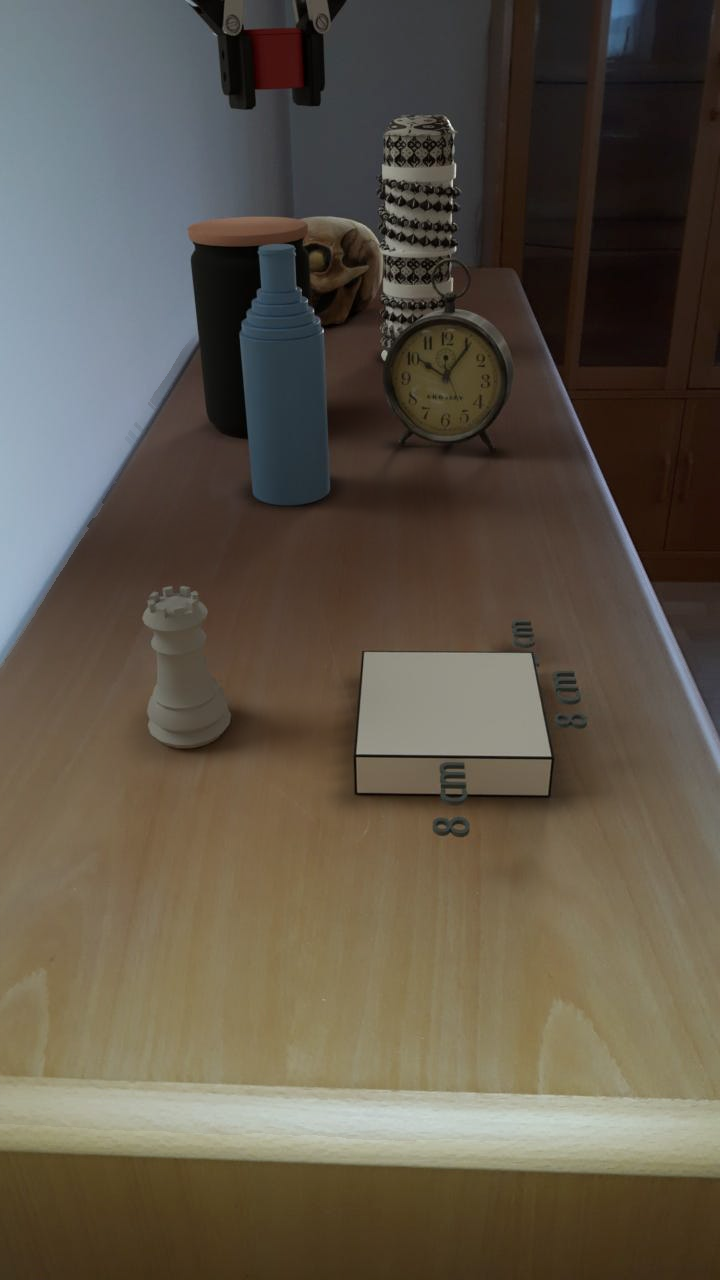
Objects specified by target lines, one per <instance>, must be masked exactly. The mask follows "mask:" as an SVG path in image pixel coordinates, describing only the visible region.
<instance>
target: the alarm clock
mask: <svg viewBox="0 0 720 1280" xmlns="http://www.w3.org/2000/svg"><path fill="white" fill-rule="evenodd" d="M446 262H452V263H455V264H457V265H459V266H461V267H462V269H463V270H464V271H465V273H466V276H467V277H466V279H467V281H466V286H465V287H464V288H463V290H462V291H461V292H460V293H458V294H455V293H454V292H453V291H452V292H448V293H446V294H442V293H441V292H440V291H439V290H438V289H437V287H436V285H435V282H434V276H435V272H436V271H437V269H438V267H439V266H441V265H442V264H444V263H446ZM431 282H432V286H433V288H434V289H435V291H436V292H437V293H438V294H439V295H440V296H441V297H443V298H444V299H445V301H446V302H445V309H444V310H439V311H435V312H432V313H429V314H427V315H425V316H423V317H422V318H420V319H419V320H417V321H416V322H414V323H412V324H411V325H409V326H408V327H407V328H406V329H404V330H403V331H402V332H401V333H400V334H399V335H398V337H397V338H396V339H395V340H394V342H393V344H392V345H391V347H390V349H389V351H388V354H387V356H386V359H385V361H384V364H383V370H382V384H383V385H382V386H383V392H384V395H385V398H386V402H387V404H388V406H389V408H390V410H391V413H392V414H393V415H394V417H395V418H396V420H398V422H399V423H400V424H401V425H402V426H403V427H404V428H405V430H404V432H403V433H402V436H401V438H400V439H398V441H397V446H398V447H403V446H405V444H406V441H408V439H409V438H410V437H411V436H413V435H415V436H416V437H418V438H420V439H422V440H425V441H427V442H431V443H434V444H435V443H436V444H446V445H448V444H459V443H462V442H466V441H469V440H471V439H474V438H475V437H477V436H479V438H480V439H481V441H482V442H483V443H484V444H485V446H487V447H488V448H489V449H488V450H489V452H490V453H491V454H495V453H497V450H498V449H497V446H496V445H494V443H493V441H492V439H491V437H490V435H489V434H488V432H487V429H488V428H490V426H491V425H492V424H493V423H494V421H495V420H496V419H497V418H498V416H499V415H500V413H501V411H502V410H503V409H504V406H505V405H506V403H507V401H508V399H509V397H510V394H511V391H512V387H513V383H514V361H513V357H512V355H511V354H512V353H511V351H510V348H509V345H508V343H507V341H506V339H505V338H504V336H503V335H502V334H501V333H500V331H499V330H498V329H497V328H496V326H495V325H493V323H491V322H490V321H489V320H487V319H486V318H485V317H483V316H481V315H479V314H477V313H474V312H472V311H468V310H464V309H458V308H456V306H455V301H456V299H458V298H461V297H463V296H464V295H465V294H466V293H467V291H468V290H469V288H470V286H471V282H472V275H471V271H470V269H469V267H468V265H466V264H465V262H463V261H462V260H461V259H458V258H456V257H451V258H446V259H443V260H441V261H440V262H438V263H437V264H436V265H435V267H434V268H433V270H432V273H431ZM454 300H455V301H454Z"/></svg>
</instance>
